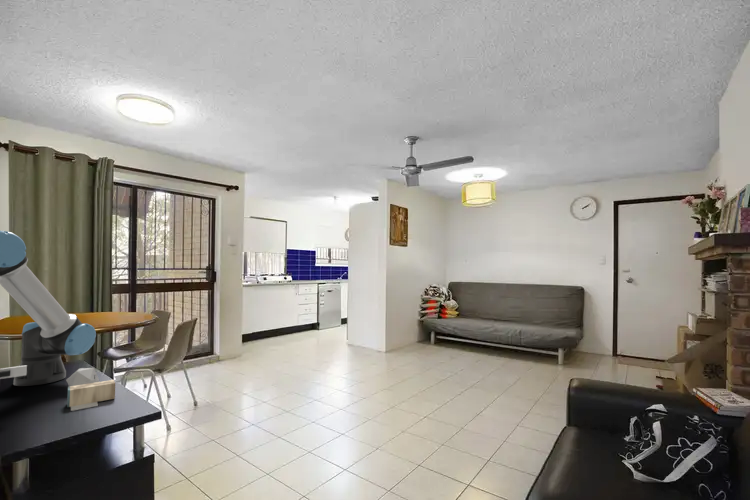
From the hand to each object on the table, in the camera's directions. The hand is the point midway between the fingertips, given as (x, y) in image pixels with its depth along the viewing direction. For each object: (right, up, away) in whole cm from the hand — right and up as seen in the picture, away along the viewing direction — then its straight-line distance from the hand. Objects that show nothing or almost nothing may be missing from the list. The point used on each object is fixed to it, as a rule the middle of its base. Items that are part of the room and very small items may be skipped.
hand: (26, 370), depth 110 cm
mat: (+11, -13, +8) cm, 19 cm away
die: (+1, -14, +21) cm, 25 cm away
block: (+8, -10, +6) cm, 14 cm away
